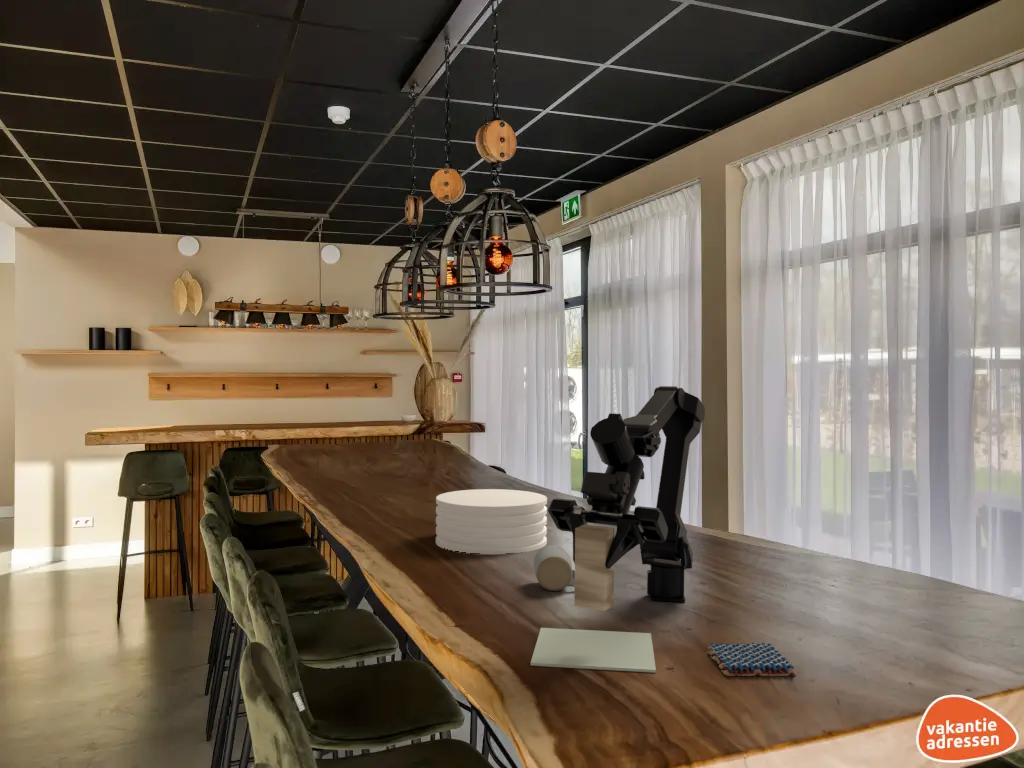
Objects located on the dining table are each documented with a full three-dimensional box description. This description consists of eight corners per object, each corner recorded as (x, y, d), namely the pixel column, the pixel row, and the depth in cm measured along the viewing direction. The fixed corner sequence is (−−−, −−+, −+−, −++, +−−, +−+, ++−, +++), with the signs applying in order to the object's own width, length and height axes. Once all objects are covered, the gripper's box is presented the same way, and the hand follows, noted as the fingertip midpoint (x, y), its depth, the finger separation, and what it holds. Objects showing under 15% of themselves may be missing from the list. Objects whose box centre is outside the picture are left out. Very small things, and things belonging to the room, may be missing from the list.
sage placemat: (650, 635, 128) (650, 633, 128) (655, 672, 112) (655, 669, 112) (540, 630, 130) (540, 627, 130) (530, 665, 114) (530, 662, 114)
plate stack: (419, 550, 188) (419, 503, 188) (455, 528, 216) (455, 487, 215) (533, 558, 182) (534, 509, 182) (555, 534, 209) (556, 491, 209)
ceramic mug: (535, 592, 153) (536, 553, 153) (533, 581, 161) (534, 544, 161) (590, 593, 153) (591, 554, 153) (584, 582, 161) (586, 545, 161)
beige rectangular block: (584, 600, 124) (584, 524, 124) (613, 605, 121) (614, 527, 121) (574, 605, 121) (575, 528, 121) (604, 611, 118) (605, 531, 118)
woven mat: (772, 653, 122) (772, 640, 122) (798, 680, 111) (798, 666, 111) (705, 653, 121) (705, 640, 121) (725, 680, 111) (725, 666, 111)
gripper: (553, 449, 129) (519, 527, 120) (662, 455, 119) (634, 541, 110) (574, 490, 136) (543, 567, 127) (678, 500, 126) (653, 584, 117)
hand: (590, 564), depth 120 cm, fingers closed on beige rectangular block, 5 cm apart
